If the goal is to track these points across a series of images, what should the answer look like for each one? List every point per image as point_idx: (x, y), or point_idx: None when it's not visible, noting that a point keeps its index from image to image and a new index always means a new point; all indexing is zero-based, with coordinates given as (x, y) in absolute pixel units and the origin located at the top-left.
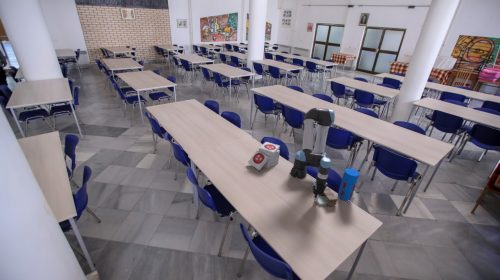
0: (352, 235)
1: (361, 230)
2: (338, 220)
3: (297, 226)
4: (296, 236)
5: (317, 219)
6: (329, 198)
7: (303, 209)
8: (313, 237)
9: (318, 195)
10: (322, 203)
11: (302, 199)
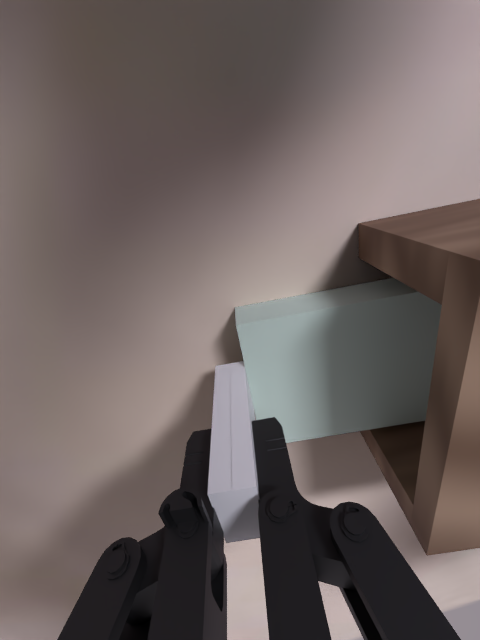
0: None
1: (473, 584)
2: None
3: (17, 593)
4: (20, 632)
5: None
6: (446, 536)
7: (59, 474)
8: None
9: (249, 536)
10: (306, 437)
11: (36, 331)
